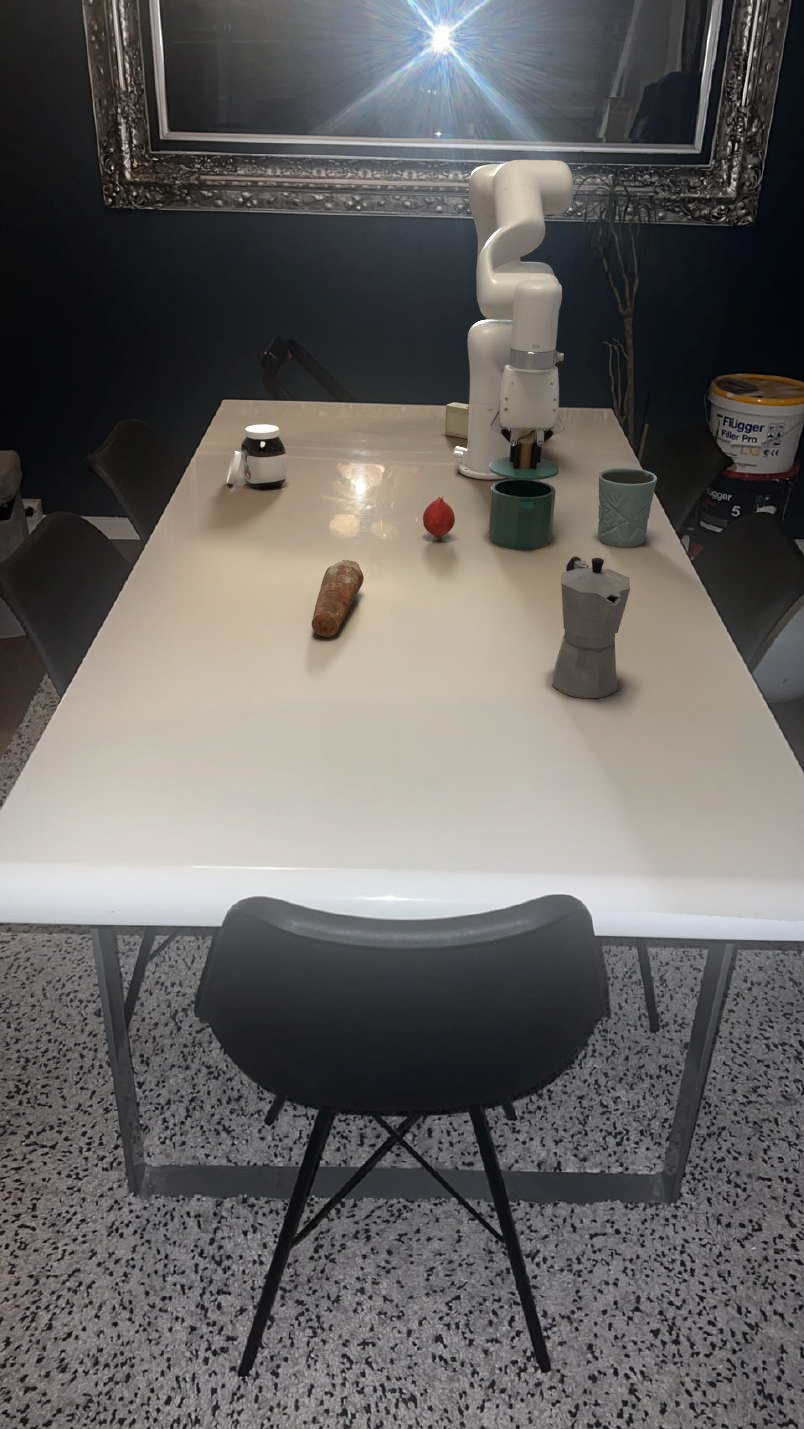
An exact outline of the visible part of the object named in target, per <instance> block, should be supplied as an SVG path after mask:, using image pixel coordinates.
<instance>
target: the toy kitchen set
mask: <svg viewBox="0 0 804 1429" xmlns="http://www.w3.org/2000/svg"><path fill="white" fill-rule="evenodd" d="M444 419H445V423H444V435H445V436H447V437H455V438H460V439H465V440H468V422H469V404H466V403H462V402H461V403H460V402H451V403H448V404H446V405H445V418H444ZM533 431H536V428H519V431H518V438H517V440H521V439H522V438H524V437H526V436H528V435H530V434H531V433H532V432H533Z"/></svg>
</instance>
